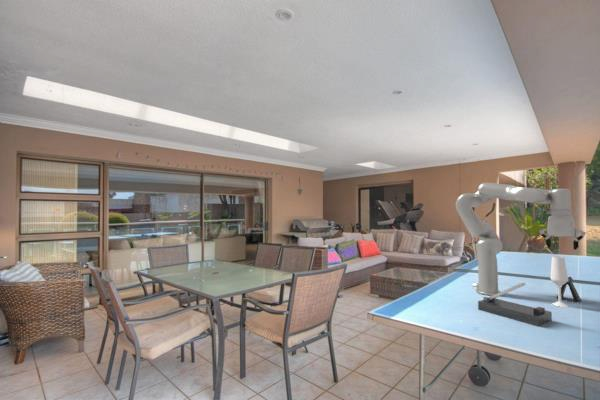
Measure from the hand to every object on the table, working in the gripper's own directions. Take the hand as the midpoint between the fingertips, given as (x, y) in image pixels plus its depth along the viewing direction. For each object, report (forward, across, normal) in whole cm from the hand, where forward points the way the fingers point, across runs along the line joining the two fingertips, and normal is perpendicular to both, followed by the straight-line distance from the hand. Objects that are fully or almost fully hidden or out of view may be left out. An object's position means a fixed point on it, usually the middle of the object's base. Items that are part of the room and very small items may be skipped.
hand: (562, 248), depth 143 cm
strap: (+20, -15, -31) cm, 40 cm away
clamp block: (+29, -12, -32) cm, 45 cm away
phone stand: (+29, -2, +20) cm, 36 cm away
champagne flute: (+29, -2, +4) cm, 29 cm away
